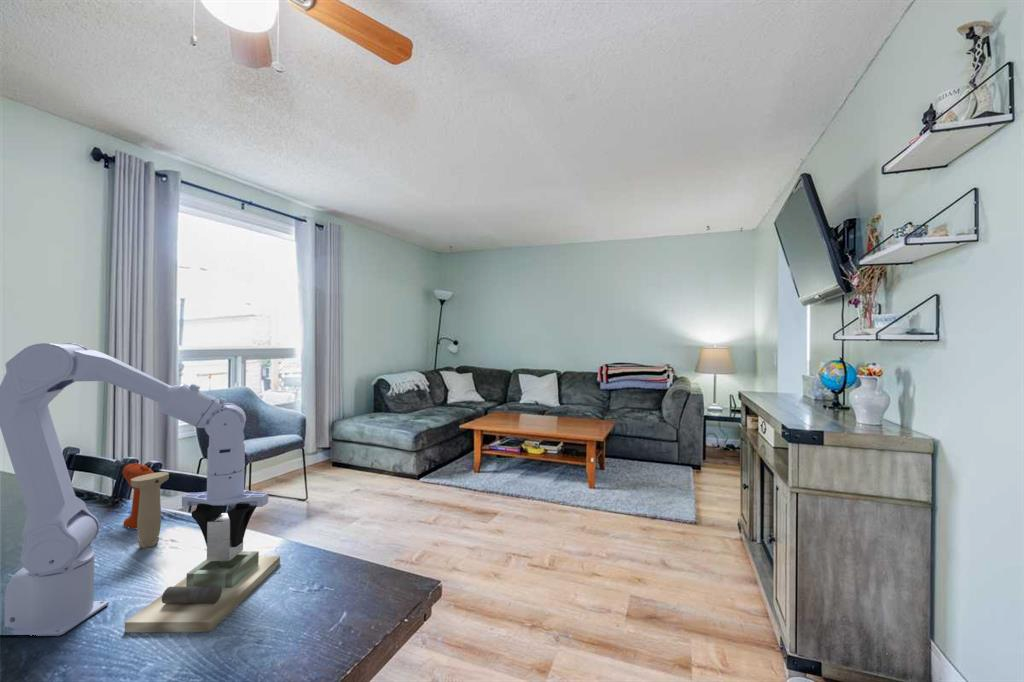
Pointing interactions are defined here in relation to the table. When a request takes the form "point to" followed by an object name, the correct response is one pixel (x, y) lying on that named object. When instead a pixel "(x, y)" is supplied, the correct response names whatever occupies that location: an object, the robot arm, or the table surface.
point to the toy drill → (130, 473)
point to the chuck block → (204, 595)
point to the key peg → (220, 539)
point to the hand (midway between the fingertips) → (225, 544)
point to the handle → (149, 507)
